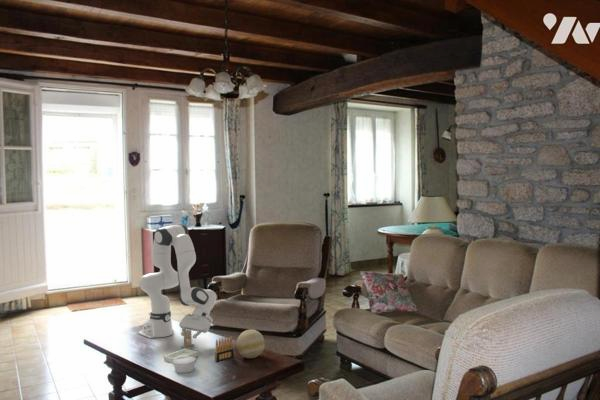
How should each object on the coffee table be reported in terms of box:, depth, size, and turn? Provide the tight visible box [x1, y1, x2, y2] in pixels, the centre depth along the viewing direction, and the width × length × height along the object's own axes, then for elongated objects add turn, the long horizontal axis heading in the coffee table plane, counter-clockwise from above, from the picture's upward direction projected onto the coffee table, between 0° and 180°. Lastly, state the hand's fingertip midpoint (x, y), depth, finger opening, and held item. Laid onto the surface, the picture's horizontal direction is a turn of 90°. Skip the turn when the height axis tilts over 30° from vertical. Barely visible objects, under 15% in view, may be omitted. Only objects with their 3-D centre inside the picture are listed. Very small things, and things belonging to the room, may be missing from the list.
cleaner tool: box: [180, 329, 195, 350], centre depth 292 cm, size 3×7×10 cm, turn 147°
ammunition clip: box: [214, 335, 235, 364], centre depth 272 cm, size 11×2×12 cm, turn 130°
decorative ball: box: [236, 328, 266, 359], centre depth 275 cm, size 15×15×15 cm
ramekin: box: [172, 356, 197, 374], centre depth 259 cm, size 11×11×5 cm
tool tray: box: [163, 349, 199, 364], centre depth 276 cm, size 11×15×2 cm
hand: (188, 336), depth 292 cm, fingers open, 8 cm apart
